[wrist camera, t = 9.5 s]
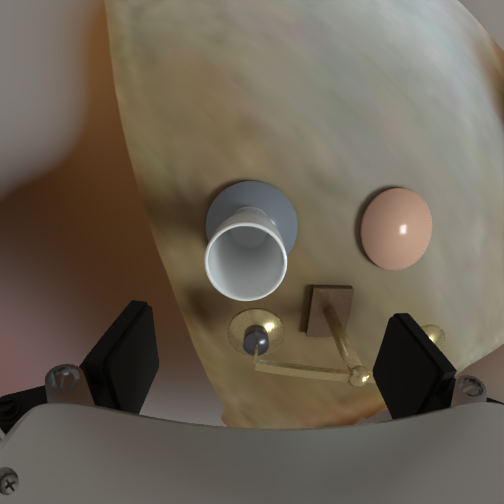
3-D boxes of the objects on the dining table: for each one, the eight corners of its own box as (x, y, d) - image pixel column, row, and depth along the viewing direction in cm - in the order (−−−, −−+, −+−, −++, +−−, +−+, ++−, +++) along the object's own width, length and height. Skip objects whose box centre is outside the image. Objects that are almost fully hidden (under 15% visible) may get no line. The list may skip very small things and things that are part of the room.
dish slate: (207, 179, 36) (206, 179, 35) (300, 183, 36) (301, 184, 35) (206, 266, 40) (205, 269, 39) (292, 270, 40) (293, 273, 39)
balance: (232, 281, 40) (216, 362, 23) (413, 286, 40) (479, 347, 23) (231, 329, 43) (218, 419, 25) (401, 329, 42) (453, 398, 25)
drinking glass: (214, 214, 37) (187, 245, 22) (261, 190, 36) (265, 206, 21) (238, 259, 38) (227, 314, 24) (284, 237, 37) (301, 281, 23)
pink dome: (364, 182, 36) (367, 183, 35) (433, 193, 36) (436, 194, 35) (354, 266, 39) (356, 269, 38) (421, 269, 39) (424, 271, 38)
